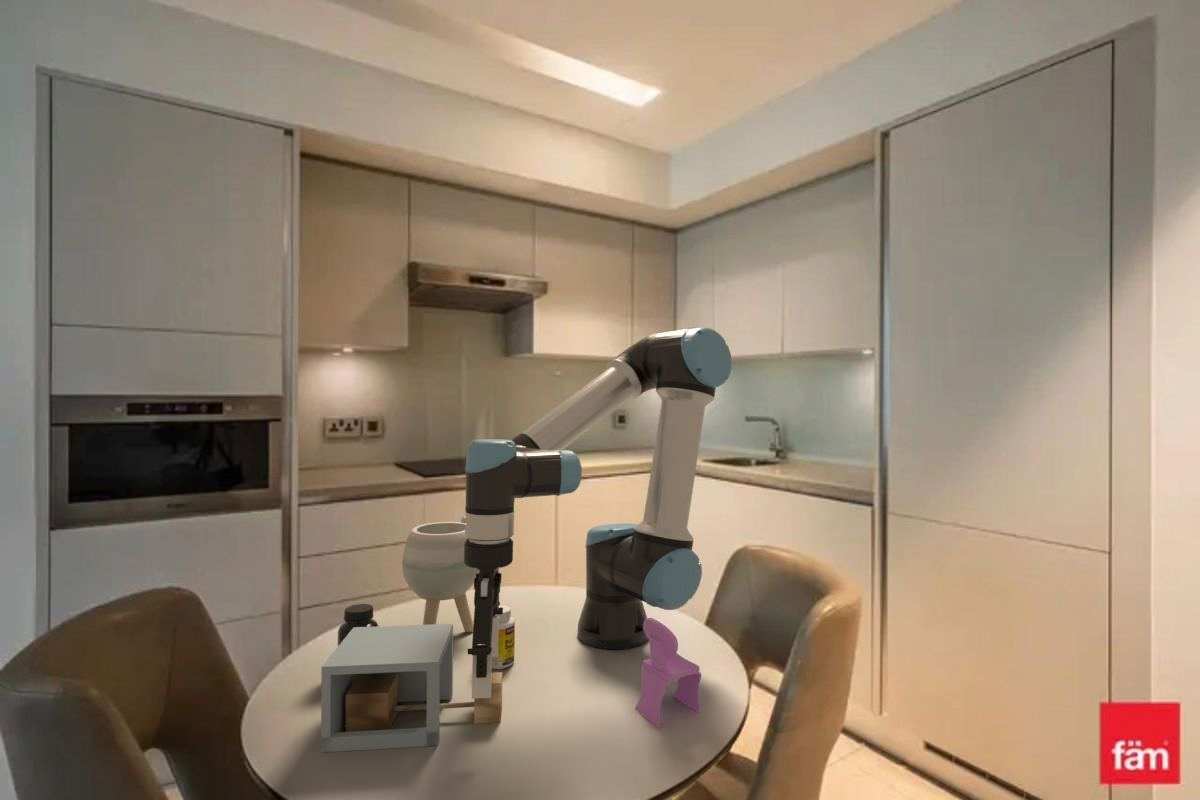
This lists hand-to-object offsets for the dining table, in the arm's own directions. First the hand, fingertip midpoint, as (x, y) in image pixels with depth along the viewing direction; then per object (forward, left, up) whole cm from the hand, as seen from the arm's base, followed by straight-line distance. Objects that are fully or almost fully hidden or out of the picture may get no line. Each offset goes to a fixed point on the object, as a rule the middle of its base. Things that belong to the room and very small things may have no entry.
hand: (485, 675), depth 89 cm
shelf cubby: (+14, 0, -7) cm, 16 cm away
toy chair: (-29, +1, -7) cm, 30 cm away
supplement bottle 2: (-1, -18, -7) cm, 19 cm away
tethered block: (+9, 0, -7) cm, 11 cm away
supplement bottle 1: (+24, -16, -7) cm, 30 cm away
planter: (+12, -33, -7) cm, 36 cm away
